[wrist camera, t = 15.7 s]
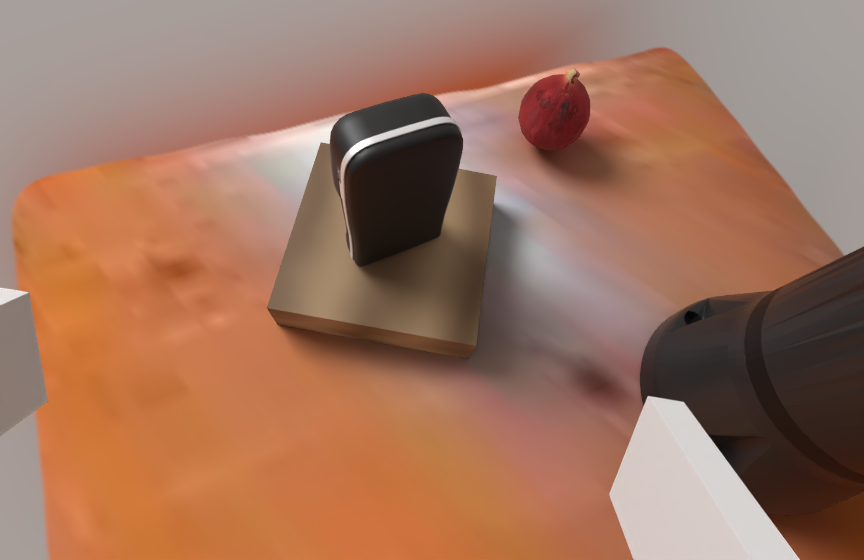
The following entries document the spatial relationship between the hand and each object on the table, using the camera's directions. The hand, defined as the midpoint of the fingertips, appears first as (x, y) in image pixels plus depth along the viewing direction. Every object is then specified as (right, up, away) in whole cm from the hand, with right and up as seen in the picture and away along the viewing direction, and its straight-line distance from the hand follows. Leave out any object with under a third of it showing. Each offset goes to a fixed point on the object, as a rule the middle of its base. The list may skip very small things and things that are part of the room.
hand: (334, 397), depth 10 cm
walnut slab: (-1, +4, +27) cm, 28 cm away
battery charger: (-1, +6, +24) cm, 25 cm away
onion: (+12, +15, +33) cm, 38 cm away
